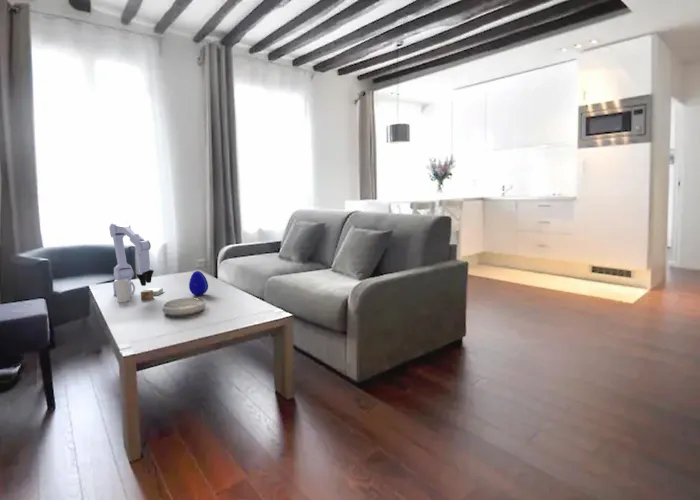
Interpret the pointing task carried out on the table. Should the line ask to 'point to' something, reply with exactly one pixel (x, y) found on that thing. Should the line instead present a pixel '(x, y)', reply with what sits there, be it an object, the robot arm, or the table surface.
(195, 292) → the ornament
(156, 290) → the base plate
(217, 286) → the table surface
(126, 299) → the mug
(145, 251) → the robot arm
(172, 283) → the table surface
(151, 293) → the walnut cube
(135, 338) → the table surface
